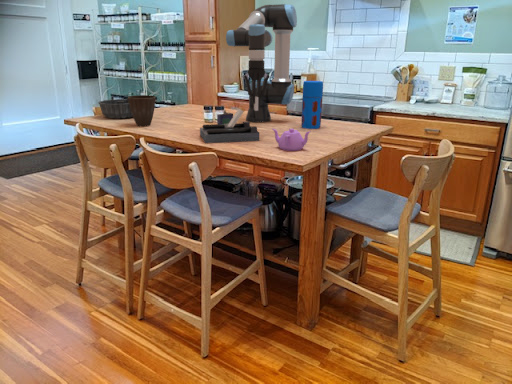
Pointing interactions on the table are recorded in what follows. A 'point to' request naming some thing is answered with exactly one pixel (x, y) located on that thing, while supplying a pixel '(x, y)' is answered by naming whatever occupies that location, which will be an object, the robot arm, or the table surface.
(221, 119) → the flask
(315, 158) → the table surface
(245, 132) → the tray
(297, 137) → the teapot
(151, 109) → the plant pot
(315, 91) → the thermos
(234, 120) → the lever
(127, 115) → the bundt pan
